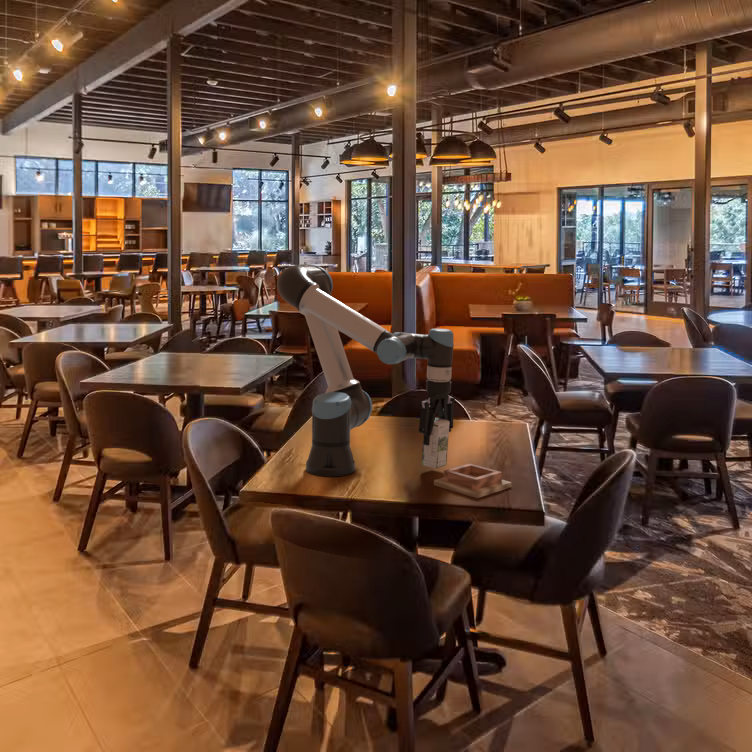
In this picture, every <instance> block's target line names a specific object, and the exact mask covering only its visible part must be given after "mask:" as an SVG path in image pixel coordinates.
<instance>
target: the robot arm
mask: <svg viewBox="0 0 752 752" xmlns="http://www.w3.org/2000/svg"><path fill="white" fill-rule="evenodd" d="M333 287H334V284H333V279H332V276H331V274H330V273H329V272H328V271H327V270H326V269H325V268H323V267H321V266H318V265H313V264H308V265H307V264H306V265H291V266H289V267H288V266H287V267H286V268H285V269H283V270H282V271H281V273H280V274H279V275H278V277H277V281H276V289H277V292H278V294H279V296H280V297H281V299H283V300H284V301H285V302H286V303H287V304H289V305H290V306H292V307H294V308H295V309H297V310H298V313H300V314H302V315H303V316H304V317H305V319H306V323H307V326H308V328H309V329H308V330H309V333H310V336H311V338H312V342H313V344H314V348H315V350H316V354H317V356H318V359H319V364H320V366H321V368H322V373H323V375H324V378H325V381H326V384H327V388H326V391H325V392H323V393H320V394H317V395H316V396H315V397H314V398H313V400H312V406H311V413H312V414H311V415H312V416H311V419H312V421H311V427H312V428H311V447H310V448H311V449H310V451H309V454H308V457H307V460H306V462H305V471H306V472H307V473H309V474H311V475H314V476H320V477H342V476H348V475H351V474H353V473H354V472H355V471H356V463H355V460H354V456H353V453H352V448H351V431H352V430H353V429H355V428H357V427H360V426H362V425H363V424H365V422H367V421H368V420H369V418H370V417H371V415H372V411H373V401H372V399H371V396H370V395H369V394H368V393H367V392H366V391H364V390H363V389H362V386H361V381H359V380H357V379H355V378H354V376H353V372H352V369H351V366H350V364H349V361H348V357H347V355H346V351H345V347H344V344H343V342H342V339H341V336H340V333H339V332H341V333H342V334H344V335H346V336H347V337H349V338H351V339H352V340H354V341H355V342H356V343H358V344H360V345H362V346H364V347H365V348H367V349H368V350H370V351H371V352H373V353H374V354H377V357H378V359H379V360H380V361H381V362H382V363H384V364H386V365H396V364H400V363H401V362H403V361H407V360H408V359H420V360H427V365H426V366H427V367H426V378H427V379H426V384H425V391H426V392H427V397H426V399H425V400H420V402H419V404H420V405H419V406H420V415H419V424H418V433H421V434H422V435H424V439H423V438H422V445H423V444H424V455H428V456H432V442H433V435H431V432H432V428H433V424H434V420H435V418H437V417H436V416H437V415H438V418H441V419H444V420H447V421H449V422H450V423H449V433H451V432H452V429H453V428H454V404H455V400H456V398H455V397H452V396H450V395H449V394H450V393H451V392H452V381H451V379H452V373H453V372H452V370H453V357H454V346H455V345H454V344H455V343H454V332H453V331H452V329H448V328H431V329H429V332H428V334H423V333H422V334H421V333H410V332H406V331H402V332H399V331H398V332H397V331H395V332H390V331H389V330H387V329H386V328H385V327H382V326H381V325H379V324H378V323H376V322H374V321H373V320H372V319H369V318H368V317H366V316H364V315H363V314H362V313H359V312H358V311H357V310H354V309H353V308H351V307H349V306H348V305H346V304H344V303H343V302H342V301H340V300H338V299H336V298H335V297H333V296H332V292H333V289H334V288H333ZM427 430H428V431H427Z"/></svg>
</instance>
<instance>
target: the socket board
mask: <svg viewBox="0 0 752 752" xmlns="http://www.w3.org/2000/svg"><path fill="white" fill-rule="evenodd" d="M433 486H434V487H435V486H436V487H439V488H442V489H445V490H449V491H452V492H455V493H457V494H461V495H465V496H468V497H471V498H475V499H479V498H482V497H485V496H488V495H492V494H495V493H498V492H501V491H504V490H507V489H510V488H512V481H508V480H505V479H503V472H502V471H500V470H496V469H493V468H488V467H486V466H485V467H484V466H481V465H477V464H473V463H466V464H462V465H459V466H455V467H453V468H452V467H451V468H448V469H445V470H443V477H440V478H436V479H434V480H433Z"/></svg>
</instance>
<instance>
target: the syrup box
mask: <svg viewBox="0 0 752 752" xmlns="http://www.w3.org/2000/svg"><path fill="white" fill-rule="evenodd" d="M449 424H450V422H449V421H447V420H444V419H441V418H439V417H435V420H434V424H433V428H432V432H431V435H433V442H432V456H428V455H424V444H423V443H422V452H421V465H422V466H424V467H428V468H432V469H440V468H442V467H445V466H447V464H448V463H447V461H448V448H449V436H450V432H449ZM427 431H428V430H427ZM422 437H423V438H422V440H423V439H424V434H422Z"/></svg>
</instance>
